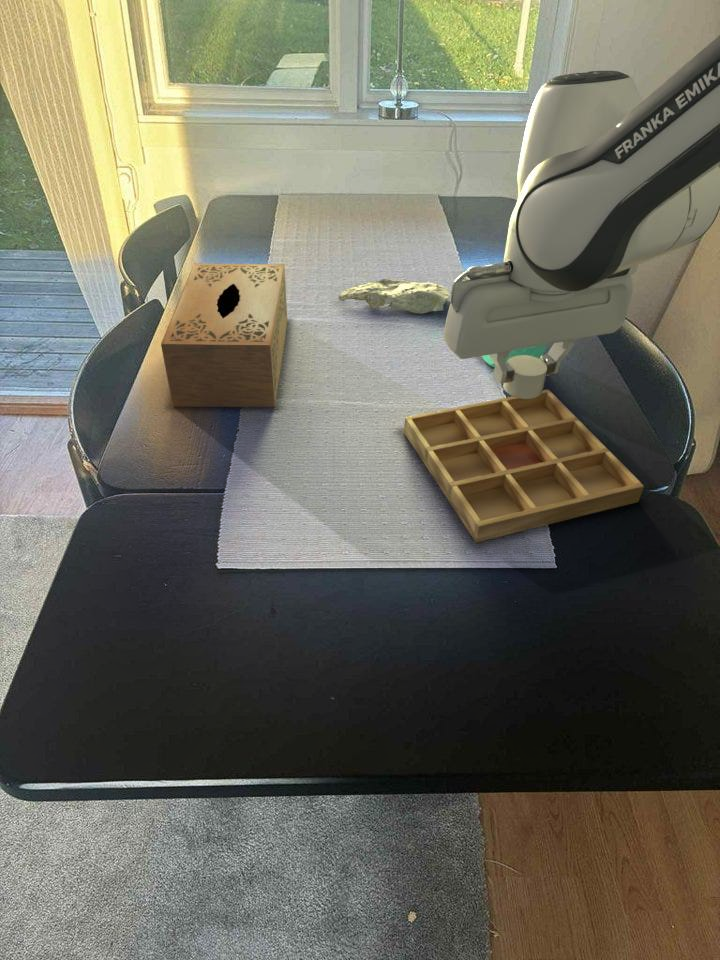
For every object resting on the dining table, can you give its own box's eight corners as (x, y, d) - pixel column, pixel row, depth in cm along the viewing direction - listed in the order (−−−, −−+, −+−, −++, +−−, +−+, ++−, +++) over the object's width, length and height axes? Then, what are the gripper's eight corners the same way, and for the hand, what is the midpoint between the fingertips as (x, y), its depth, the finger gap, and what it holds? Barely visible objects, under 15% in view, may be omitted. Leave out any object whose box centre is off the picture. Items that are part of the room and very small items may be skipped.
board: (638, 502, 85) (644, 486, 83) (475, 542, 79) (478, 526, 78) (545, 404, 101) (548, 389, 99) (403, 432, 95) (404, 416, 93)
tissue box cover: (275, 407, 99) (270, 345, 93) (172, 406, 99) (160, 344, 92) (287, 320, 119) (284, 264, 112) (202, 319, 118) (194, 263, 112)
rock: (339, 302, 124) (339, 289, 122) (355, 278, 132) (355, 265, 131) (443, 316, 120) (445, 302, 119) (453, 290, 129) (455, 277, 127)
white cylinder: (549, 395, 78) (555, 372, 76) (514, 402, 77) (519, 378, 75) (529, 375, 81) (534, 352, 79) (496, 381, 80) (500, 358, 78)
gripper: (469, 283, 64) (453, 408, 73) (654, 256, 70) (618, 375, 79) (440, 256, 69) (429, 376, 78) (617, 233, 74) (586, 348, 83)
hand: (525, 376), depth 78 cm, fingers closed on white cylinder, 4 cm apart
